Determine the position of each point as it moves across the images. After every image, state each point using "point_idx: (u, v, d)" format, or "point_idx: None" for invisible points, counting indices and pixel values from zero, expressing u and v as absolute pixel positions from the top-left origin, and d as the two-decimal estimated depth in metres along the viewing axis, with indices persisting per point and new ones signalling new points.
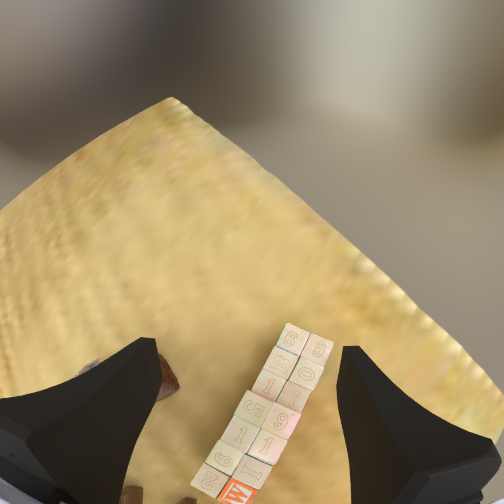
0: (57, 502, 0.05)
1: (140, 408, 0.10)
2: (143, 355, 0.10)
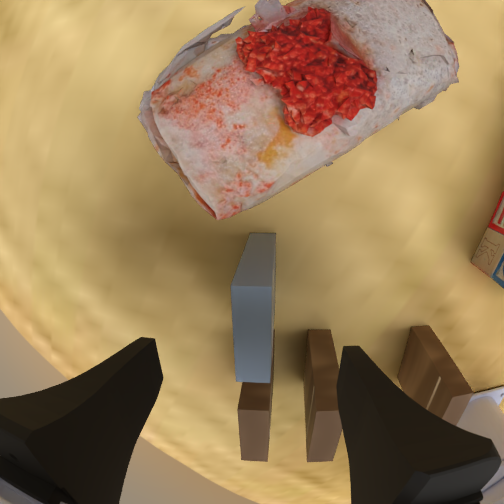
0: (57, 502, 0.05)
1: (140, 408, 0.10)
2: (143, 355, 0.10)
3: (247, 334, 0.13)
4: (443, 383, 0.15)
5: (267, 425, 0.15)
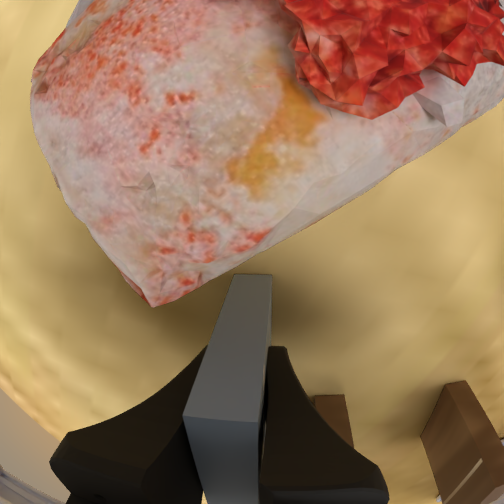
0: None
1: None
2: None
3: (220, 471, 0.07)
4: (485, 468, 0.08)
5: None
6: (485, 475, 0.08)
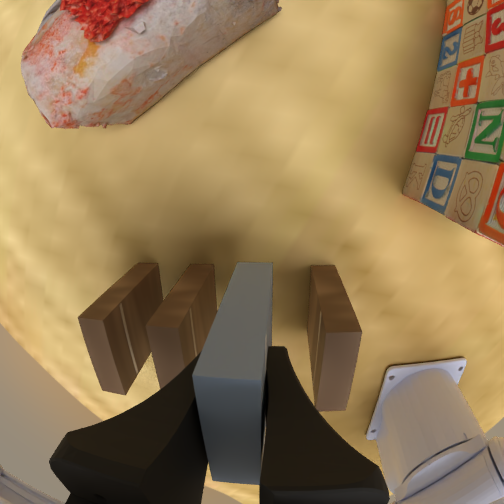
0: None
1: None
2: None
3: (224, 437, 0.07)
4: (322, 318, 0.14)
5: (107, 341, 0.14)
6: (322, 326, 0.14)
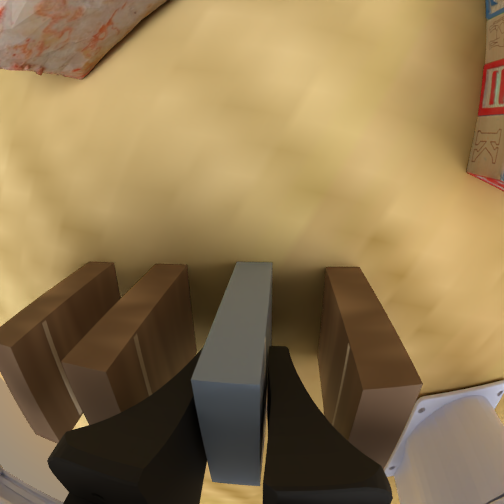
0: None
1: None
2: None
3: (224, 439, 0.07)
4: (352, 358, 0.08)
5: (22, 376, 0.08)
6: (353, 371, 0.08)
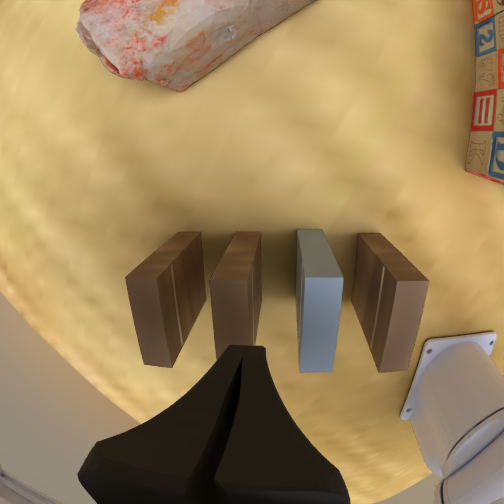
0: None
1: None
2: (241, 364, 0.10)
3: (316, 325, 0.13)
4: (387, 271, 0.14)
5: (158, 303, 0.14)
6: (389, 278, 0.14)
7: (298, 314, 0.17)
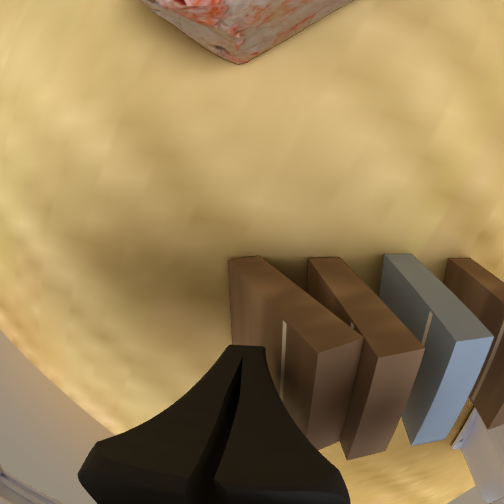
0: None
1: None
2: (241, 364, 0.10)
3: (449, 395, 0.08)
4: None
5: (355, 370, 0.09)
6: None
7: None
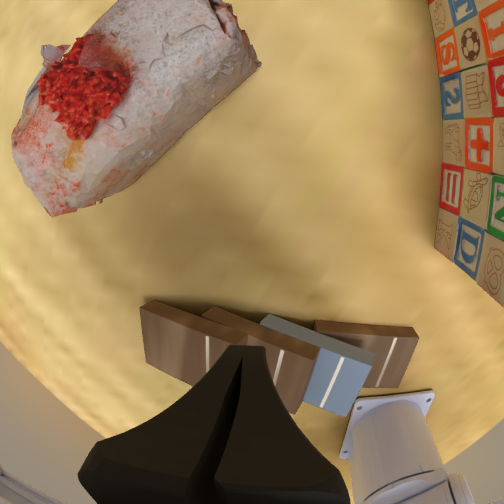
0: None
1: None
2: (242, 364, 0.10)
3: None
4: (402, 338, 0.20)
5: None
6: (405, 341, 0.20)
7: None
